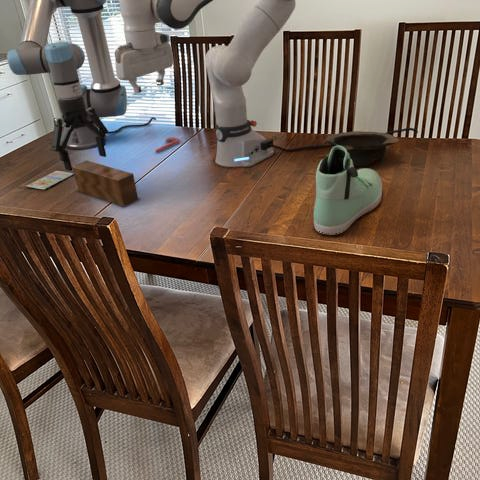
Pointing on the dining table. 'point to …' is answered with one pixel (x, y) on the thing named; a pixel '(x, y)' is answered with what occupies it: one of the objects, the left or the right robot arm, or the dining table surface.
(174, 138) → the candy cane
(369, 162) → the dark brown hat
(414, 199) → the dining table surface
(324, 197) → the sneaker
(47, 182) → the baking ingredient package
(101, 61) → the left robot arm
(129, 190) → the bar
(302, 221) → the dining table surface
